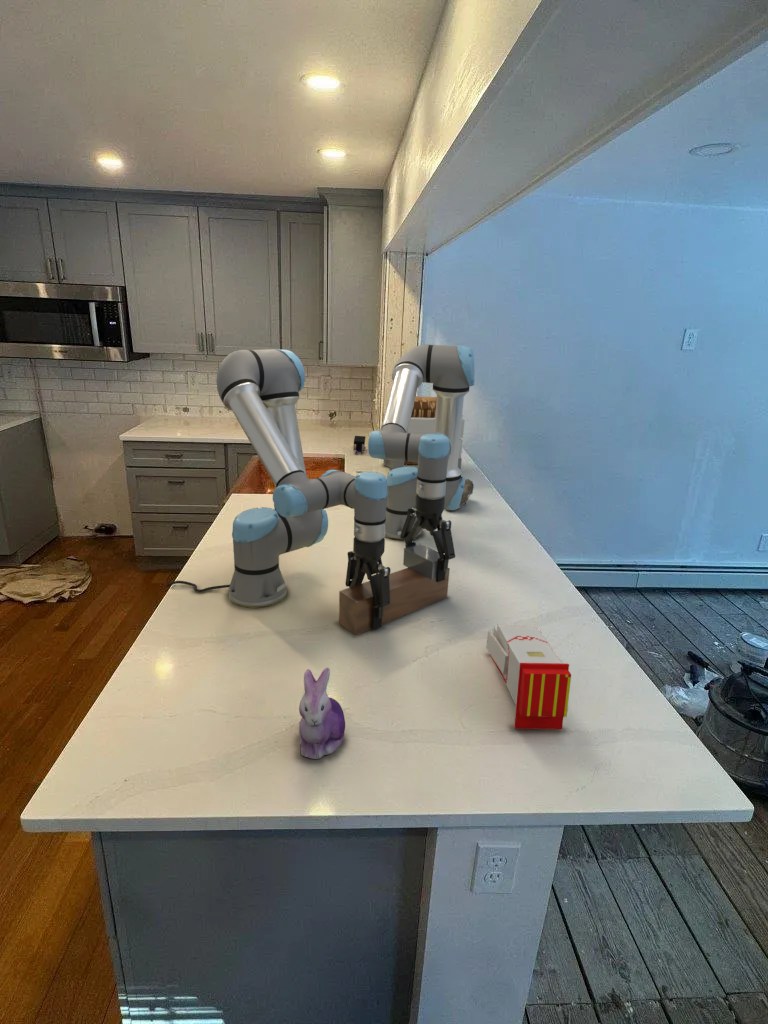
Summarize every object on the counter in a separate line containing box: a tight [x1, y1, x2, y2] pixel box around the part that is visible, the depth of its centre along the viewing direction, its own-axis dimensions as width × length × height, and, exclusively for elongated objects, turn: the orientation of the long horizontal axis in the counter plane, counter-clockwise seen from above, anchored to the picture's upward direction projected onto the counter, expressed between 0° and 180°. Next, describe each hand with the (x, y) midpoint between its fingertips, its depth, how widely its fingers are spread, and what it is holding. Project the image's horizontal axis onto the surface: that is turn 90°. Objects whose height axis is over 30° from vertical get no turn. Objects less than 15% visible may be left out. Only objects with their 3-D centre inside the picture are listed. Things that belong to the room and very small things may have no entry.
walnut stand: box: [338, 567, 450, 636], centre depth 148 cm, size 7×32×9 cm, turn 131°
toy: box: [485, 623, 572, 730], centre depth 120 cm, size 12×13×30 cm
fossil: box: [446, 478, 475, 512], centre depth 232 cm, size 22×10×15 cm
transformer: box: [383, 395, 465, 472], centre depth 268 cm, size 34×33×41 cm
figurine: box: [298, 667, 346, 760], centre depth 100 cm, size 9×10×15 cm
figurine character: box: [352, 435, 367, 455], centre depth 309 cm, size 7×8×15 cm
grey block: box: [402, 543, 449, 580], centre depth 152 cm, size 11×6×5 cm, turn 41°
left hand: (366, 620), depth 143 cm, fingers open, 7 cm apart
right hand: (424, 572), depth 153 cm, fingers closed on grey block, 11 cm apart
